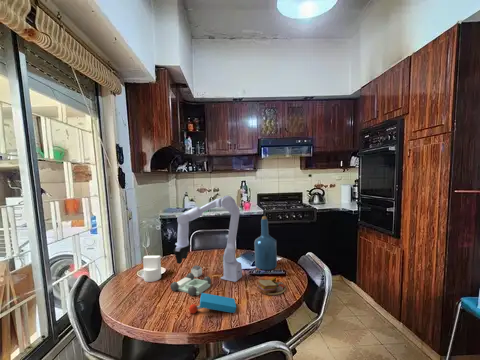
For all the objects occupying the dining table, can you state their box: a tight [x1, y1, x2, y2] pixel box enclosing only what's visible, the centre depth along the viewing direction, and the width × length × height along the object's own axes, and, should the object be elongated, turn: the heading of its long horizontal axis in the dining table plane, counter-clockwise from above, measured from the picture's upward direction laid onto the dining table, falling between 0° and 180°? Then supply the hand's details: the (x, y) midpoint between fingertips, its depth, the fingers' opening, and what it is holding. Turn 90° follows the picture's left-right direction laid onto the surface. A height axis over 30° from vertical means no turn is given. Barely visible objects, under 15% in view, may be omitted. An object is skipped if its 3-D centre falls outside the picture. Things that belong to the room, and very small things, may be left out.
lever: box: [188, 292, 237, 315], centre depth 96 cm, size 7×7×18 cm
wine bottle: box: [253, 215, 278, 271], centre depth 140 cm, size 14×13×30 cm
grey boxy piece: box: [190, 264, 203, 278], centre depth 131 cm, size 4×4×5 cm
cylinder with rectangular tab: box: [142, 255, 162, 283], centre depth 129 cm, size 9×9×12 cm
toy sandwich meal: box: [257, 276, 287, 296], centre depth 111 cm, size 12×14×5 cm
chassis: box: [170, 272, 212, 297], centre depth 116 cm, size 16×13×4 cm
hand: (181, 260), depth 126 cm, fingers open, 7 cm apart
